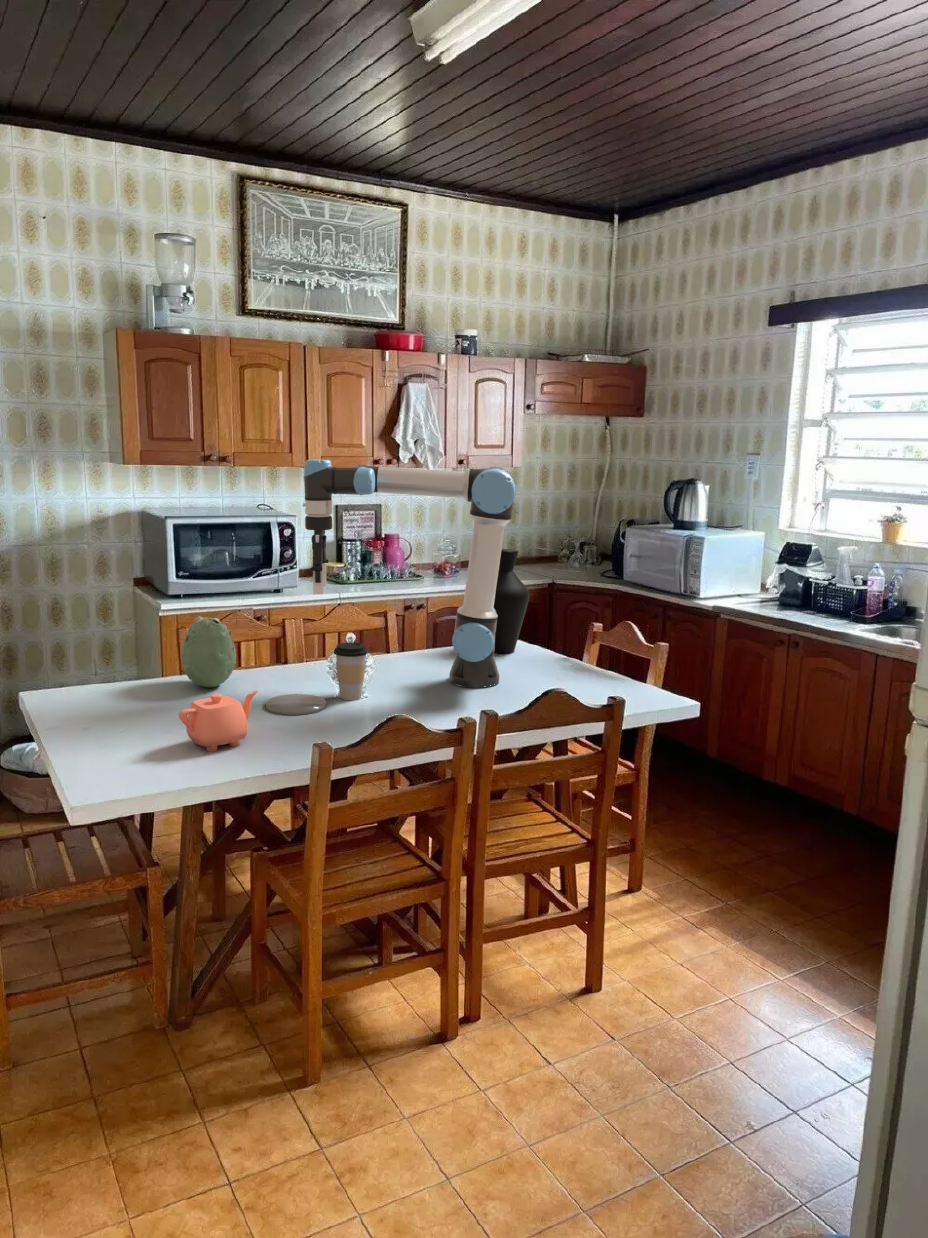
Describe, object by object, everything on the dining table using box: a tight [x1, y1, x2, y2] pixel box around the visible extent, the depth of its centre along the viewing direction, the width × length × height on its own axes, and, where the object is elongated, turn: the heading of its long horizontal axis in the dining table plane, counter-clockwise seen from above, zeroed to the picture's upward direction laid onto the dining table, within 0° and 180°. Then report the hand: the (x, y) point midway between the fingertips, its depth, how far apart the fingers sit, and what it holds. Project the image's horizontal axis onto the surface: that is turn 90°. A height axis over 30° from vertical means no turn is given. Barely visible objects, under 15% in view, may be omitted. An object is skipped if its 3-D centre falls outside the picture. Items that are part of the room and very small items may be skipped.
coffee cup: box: [333, 641, 369, 701], centre depth 256 cm, size 9×9×15 cm
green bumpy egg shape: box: [181, 615, 237, 688], centre depth 262 cm, size 16×19×20 cm
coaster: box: [265, 693, 327, 716], centre depth 248 cm, size 16×16×1 cm
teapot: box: [178, 690, 258, 752], centre depth 217 cm, size 20×12×12 cm, turn 132°
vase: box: [493, 548, 530, 655], centre depth 313 cm, size 17×17×35 cm
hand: (320, 590), depth 262 cm, fingers open, 13 cm apart
